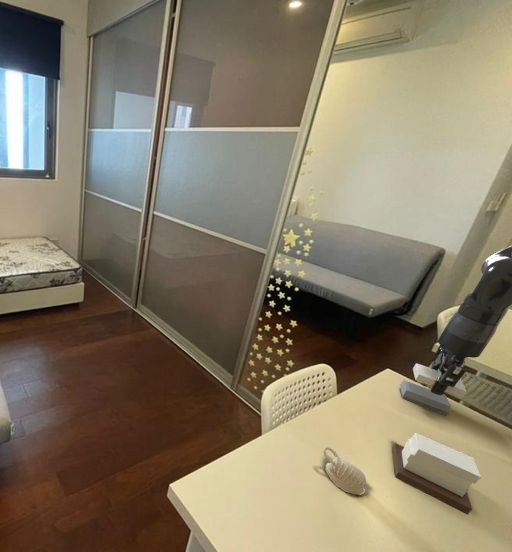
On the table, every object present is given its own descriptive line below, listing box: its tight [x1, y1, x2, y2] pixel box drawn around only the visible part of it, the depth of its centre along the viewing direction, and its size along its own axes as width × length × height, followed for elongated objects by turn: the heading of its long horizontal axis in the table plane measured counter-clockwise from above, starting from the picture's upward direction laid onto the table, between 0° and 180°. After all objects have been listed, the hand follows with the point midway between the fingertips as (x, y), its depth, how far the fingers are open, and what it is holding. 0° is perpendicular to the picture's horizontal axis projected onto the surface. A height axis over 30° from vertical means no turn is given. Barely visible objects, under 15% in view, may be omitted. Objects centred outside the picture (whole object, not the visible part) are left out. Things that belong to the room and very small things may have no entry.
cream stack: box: [391, 432, 482, 514], centre depth 65 cm, size 11×9×8 cm
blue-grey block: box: [399, 379, 452, 417], centre depth 86 cm, size 9×6×4 cm, turn 54°
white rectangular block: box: [412, 363, 467, 398], centre depth 83 cm, size 9×6×2 cm, turn 53°
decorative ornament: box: [322, 446, 367, 496], centre depth 63 cm, size 4×8×5 cm, turn 37°
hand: (433, 386), depth 84 cm, fingers closed on white rectangular block, 6 cm apart
